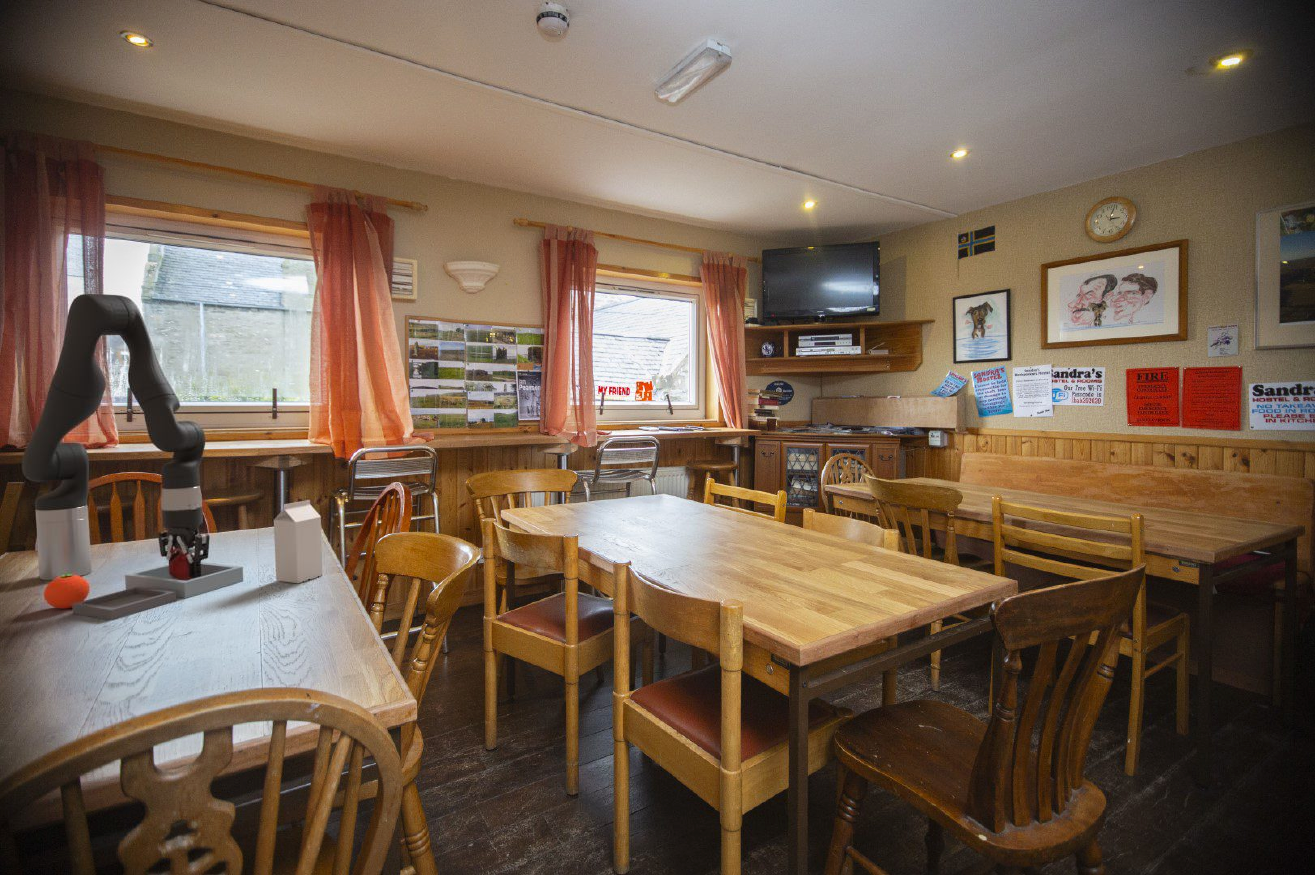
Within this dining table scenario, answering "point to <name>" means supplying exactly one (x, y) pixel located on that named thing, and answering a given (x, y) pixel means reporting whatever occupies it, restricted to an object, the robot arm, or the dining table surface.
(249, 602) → the dining table surface
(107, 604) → the tray
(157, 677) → the dining table surface
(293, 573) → the milk carton
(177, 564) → the onion
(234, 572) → the shallow gray box
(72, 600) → the clementine
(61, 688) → the dining table surface
